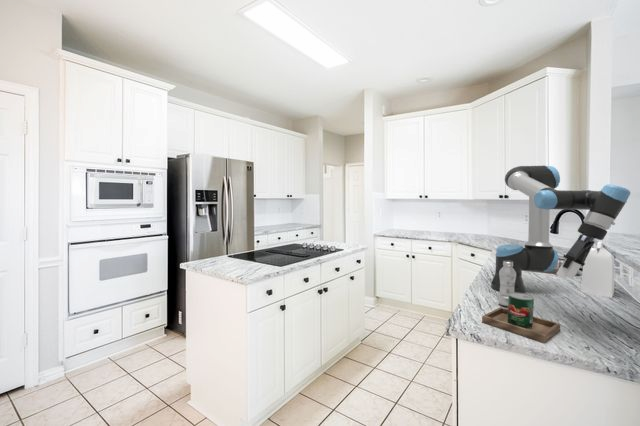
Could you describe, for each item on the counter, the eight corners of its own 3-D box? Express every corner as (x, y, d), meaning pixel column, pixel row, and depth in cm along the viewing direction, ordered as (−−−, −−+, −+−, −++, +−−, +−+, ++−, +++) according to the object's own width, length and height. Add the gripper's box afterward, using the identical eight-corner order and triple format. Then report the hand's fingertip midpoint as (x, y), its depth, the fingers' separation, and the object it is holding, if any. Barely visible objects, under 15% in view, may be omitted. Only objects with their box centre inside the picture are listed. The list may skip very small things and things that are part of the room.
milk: (611, 297, 143) (615, 244, 142) (580, 291, 152) (583, 241, 150) (614, 292, 151) (617, 242, 150) (584, 287, 160) (586, 239, 158)
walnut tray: (482, 322, 114) (482, 316, 113) (500, 312, 123) (500, 307, 123) (544, 343, 98) (544, 336, 97) (560, 330, 107) (560, 323, 107)
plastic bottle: (509, 309, 127) (512, 263, 126) (494, 304, 133) (496, 260, 132) (518, 307, 130) (520, 262, 129) (503, 302, 136) (504, 259, 135)
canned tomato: (509, 327, 108) (511, 297, 108) (505, 318, 116) (506, 291, 115) (535, 330, 105) (537, 300, 105) (529, 322, 113) (530, 293, 112)
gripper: (603, 225, 97) (569, 280, 101) (612, 235, 113) (582, 283, 117) (576, 216, 103) (545, 269, 106) (588, 227, 119) (560, 273, 122)
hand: (564, 276), depth 111 cm, fingers open, 13 cm apart
